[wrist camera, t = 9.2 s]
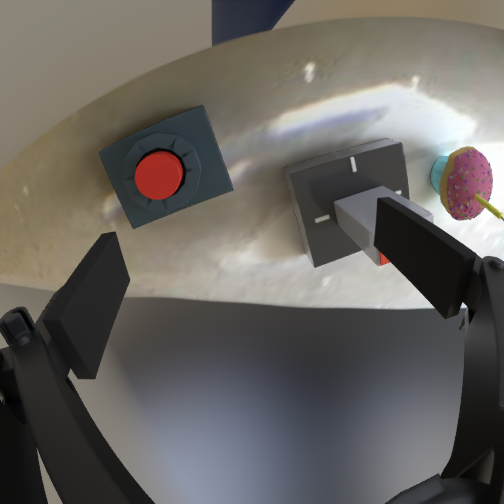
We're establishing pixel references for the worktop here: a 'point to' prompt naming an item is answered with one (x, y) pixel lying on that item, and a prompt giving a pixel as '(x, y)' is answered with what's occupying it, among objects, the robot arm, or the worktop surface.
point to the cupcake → (464, 183)
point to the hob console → (340, 192)
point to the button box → (187, 152)
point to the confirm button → (158, 175)
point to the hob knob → (369, 218)
